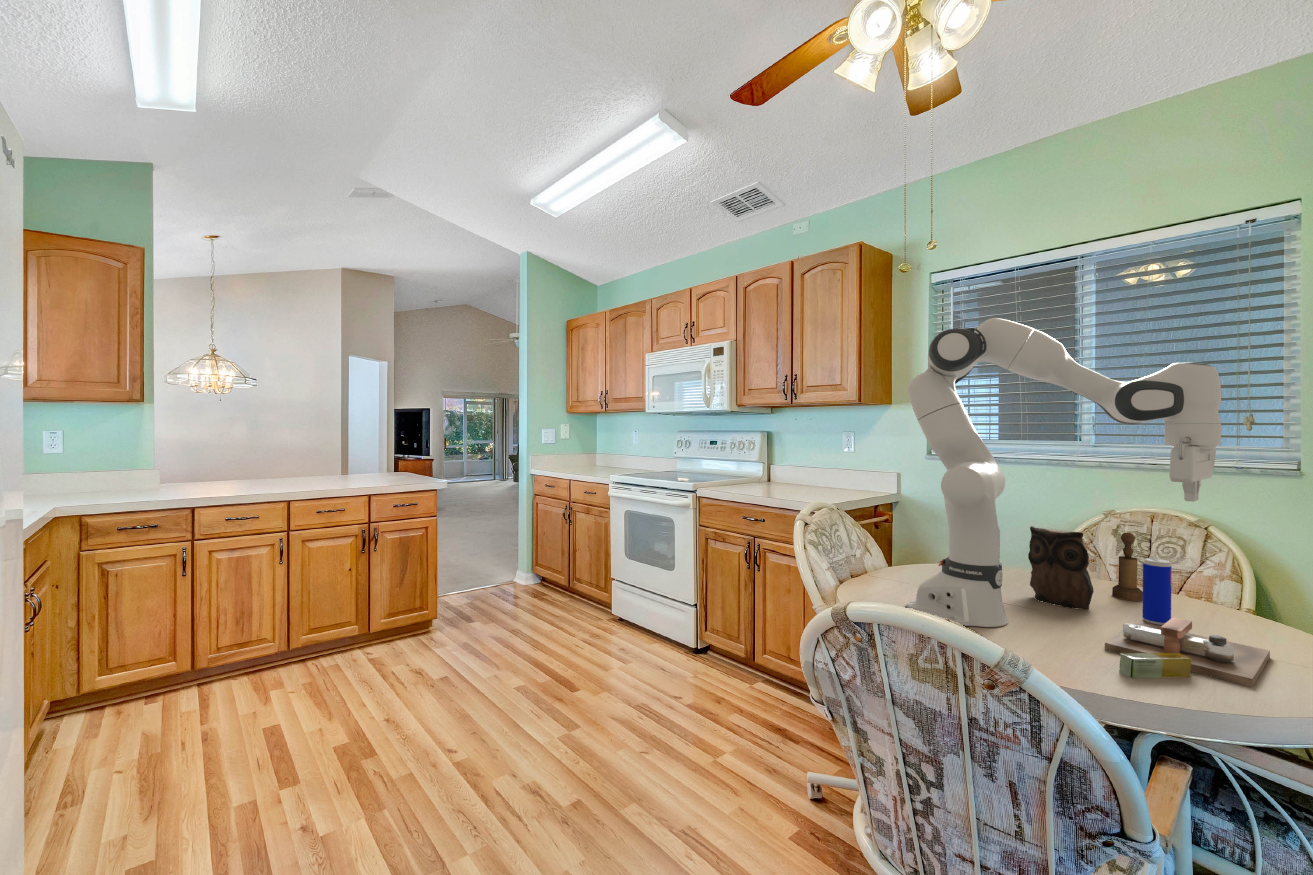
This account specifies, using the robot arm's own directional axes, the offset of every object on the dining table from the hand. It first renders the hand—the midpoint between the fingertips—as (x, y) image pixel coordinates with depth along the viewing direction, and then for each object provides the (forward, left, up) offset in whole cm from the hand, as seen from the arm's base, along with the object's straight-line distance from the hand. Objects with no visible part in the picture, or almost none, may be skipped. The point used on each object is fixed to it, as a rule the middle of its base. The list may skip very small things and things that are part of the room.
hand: (1191, 500), depth 121 cm
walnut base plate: (+1, -8, -31) cm, 32 cm away
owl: (-27, +13, -31) cm, 43 cm away
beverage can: (-8, +12, -31) cm, 34 cm away
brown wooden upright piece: (-18, +31, -31) cm, 48 cm away
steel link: (0, -12, -29) cm, 32 cm away
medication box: (0, -26, -32) cm, 41 cm away
